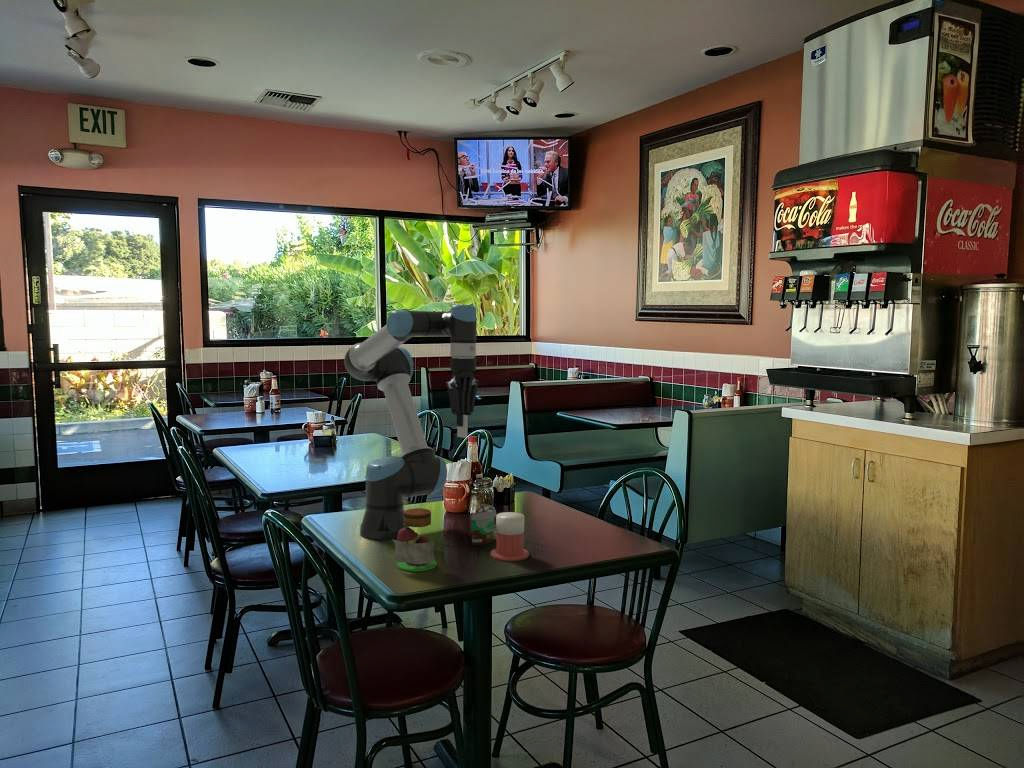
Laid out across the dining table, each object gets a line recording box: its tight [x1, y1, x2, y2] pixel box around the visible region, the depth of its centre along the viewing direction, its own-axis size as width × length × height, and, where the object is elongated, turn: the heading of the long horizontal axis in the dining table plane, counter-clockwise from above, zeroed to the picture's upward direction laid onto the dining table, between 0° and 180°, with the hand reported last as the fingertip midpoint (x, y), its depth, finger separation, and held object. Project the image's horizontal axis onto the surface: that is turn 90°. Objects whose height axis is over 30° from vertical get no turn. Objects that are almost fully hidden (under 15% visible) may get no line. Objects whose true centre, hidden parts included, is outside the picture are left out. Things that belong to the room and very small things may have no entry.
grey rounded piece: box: [495, 511, 525, 535], centre depth 214 cm, size 8×8×7 cm
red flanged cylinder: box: [490, 532, 530, 562], centre depth 214 cm, size 11×11×7 cm
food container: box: [470, 503, 497, 546], centre depth 228 cm, size 12×6×10 cm, turn 168°
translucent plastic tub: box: [391, 507, 438, 572], centre depth 203 cm, size 12×13×15 cm
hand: (462, 436), depth 222 cm, fingers closed
